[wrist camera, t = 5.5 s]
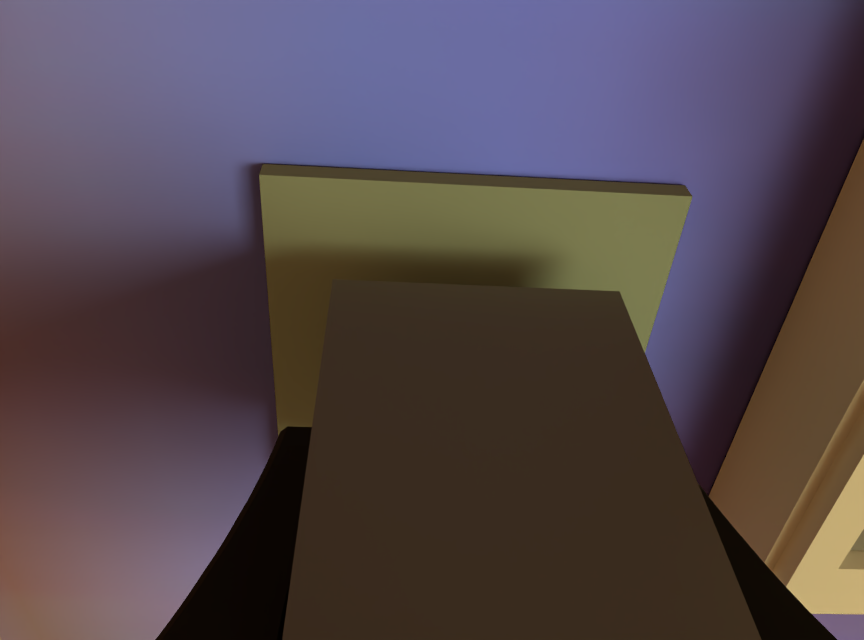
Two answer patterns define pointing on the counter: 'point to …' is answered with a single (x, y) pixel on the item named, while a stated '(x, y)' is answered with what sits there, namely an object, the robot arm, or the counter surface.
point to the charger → (499, 477)
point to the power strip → (810, 428)
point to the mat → (450, 246)
